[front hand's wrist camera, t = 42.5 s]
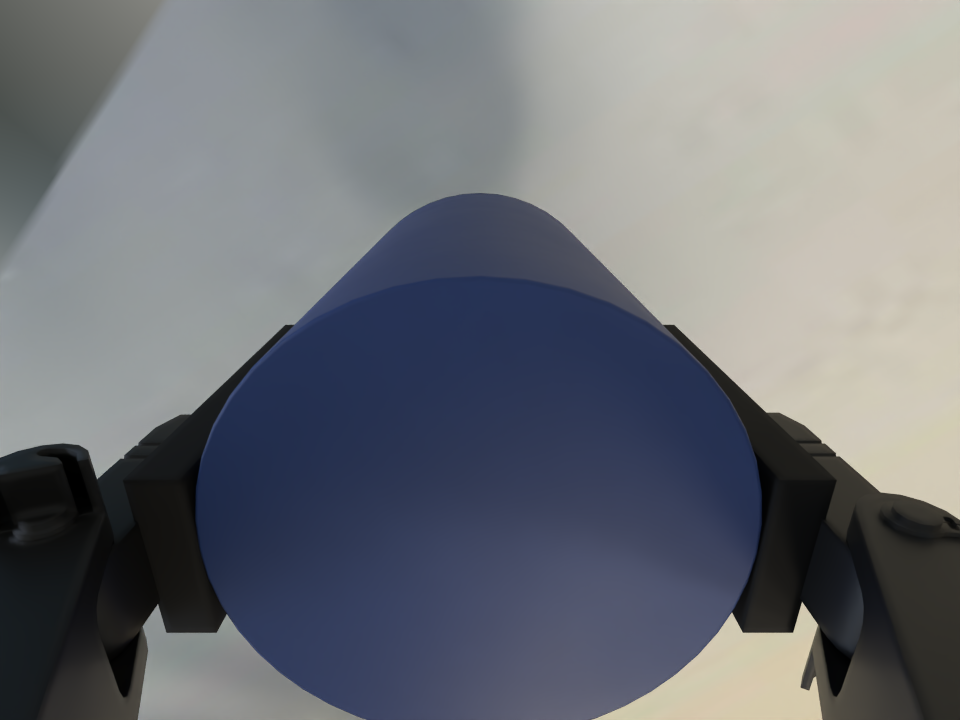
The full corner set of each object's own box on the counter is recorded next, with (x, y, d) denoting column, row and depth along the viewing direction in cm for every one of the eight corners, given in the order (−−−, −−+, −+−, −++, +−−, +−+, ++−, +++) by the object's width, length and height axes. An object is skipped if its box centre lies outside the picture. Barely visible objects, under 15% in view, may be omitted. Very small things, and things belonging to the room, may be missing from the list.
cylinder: (518, 463, 20) (558, 795, 10) (317, 360, 18) (118, 627, 8) (651, 277, 17) (890, 468, 7) (430, 139, 16) (343, 137, 6)
